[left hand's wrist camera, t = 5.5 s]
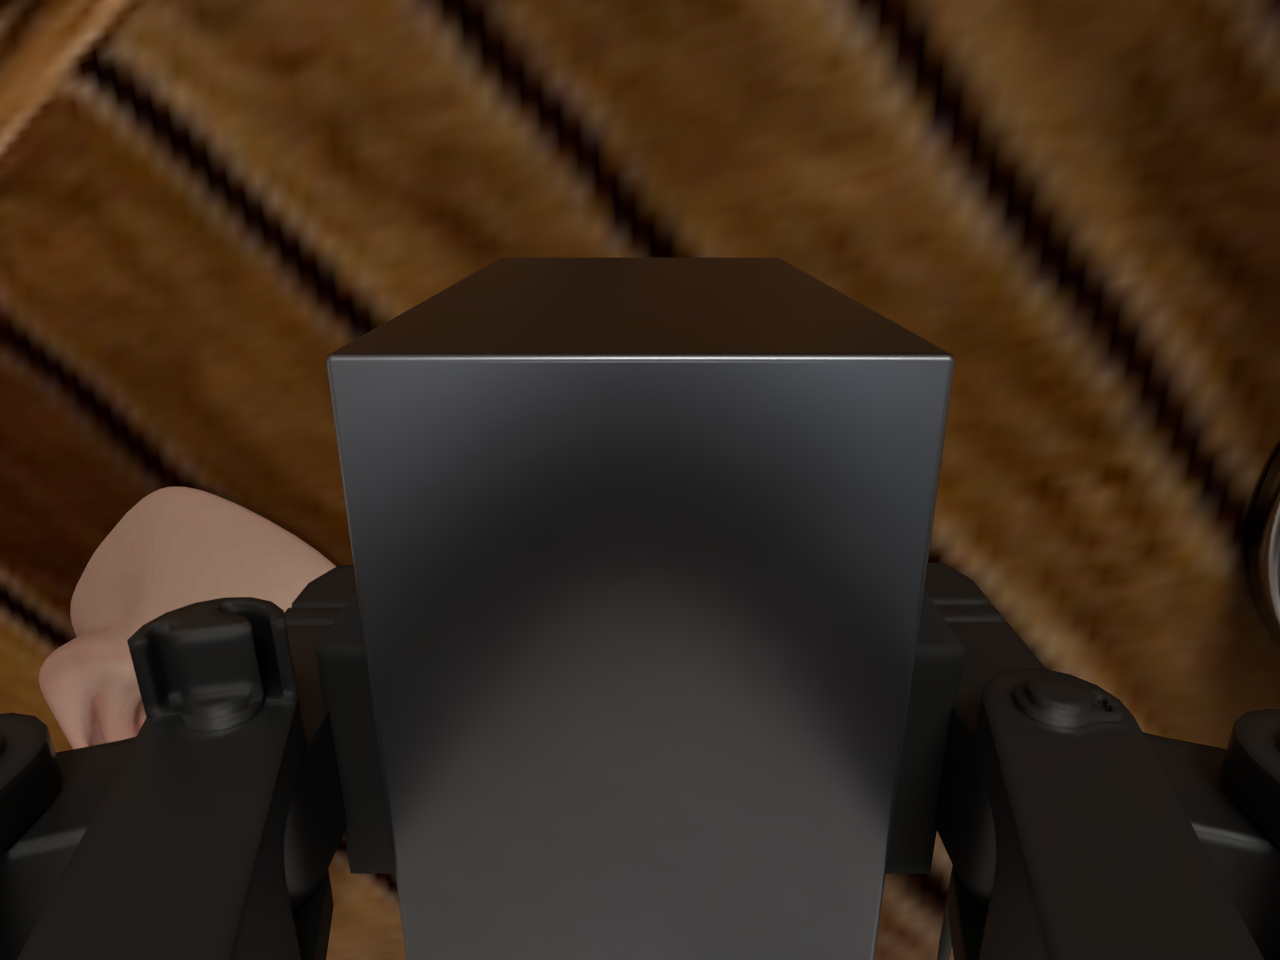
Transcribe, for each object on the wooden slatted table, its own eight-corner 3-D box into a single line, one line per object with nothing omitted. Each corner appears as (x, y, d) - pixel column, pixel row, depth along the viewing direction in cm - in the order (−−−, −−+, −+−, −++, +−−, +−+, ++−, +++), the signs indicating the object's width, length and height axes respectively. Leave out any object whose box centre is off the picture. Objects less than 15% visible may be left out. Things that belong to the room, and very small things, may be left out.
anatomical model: (-1, 500, 23) (397, 610, 24) (88, 455, 27) (429, 553, 28) (-20, 848, 27) (318, 926, 29) (58, 768, 31) (355, 840, 32)
